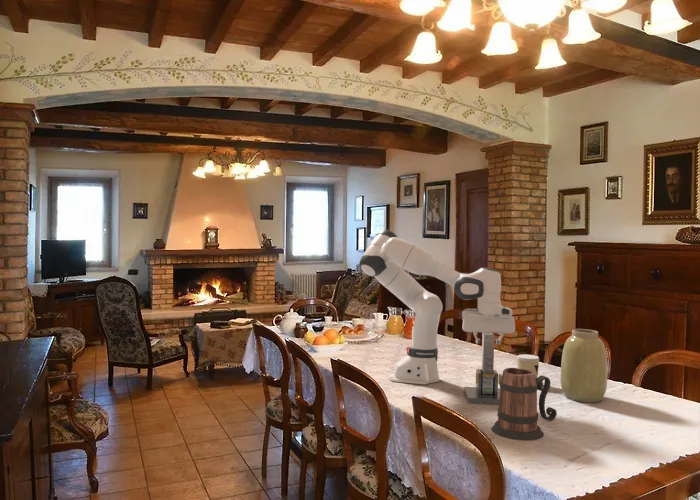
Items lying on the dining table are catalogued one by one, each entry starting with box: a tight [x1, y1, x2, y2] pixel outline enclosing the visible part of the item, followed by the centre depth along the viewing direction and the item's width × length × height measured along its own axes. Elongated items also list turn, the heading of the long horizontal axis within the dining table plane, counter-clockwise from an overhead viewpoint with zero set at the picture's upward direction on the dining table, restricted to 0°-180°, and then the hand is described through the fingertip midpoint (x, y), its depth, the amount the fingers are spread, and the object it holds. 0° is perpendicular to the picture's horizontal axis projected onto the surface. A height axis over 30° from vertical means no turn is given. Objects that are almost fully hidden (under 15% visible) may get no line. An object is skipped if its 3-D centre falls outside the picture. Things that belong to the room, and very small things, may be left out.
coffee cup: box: [516, 353, 540, 379], centre depth 246 cm, size 9×9×12 cm
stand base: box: [463, 368, 503, 406], centre depth 223 cm, size 16×16×11 cm
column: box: [481, 332, 496, 394], centre depth 223 cm, size 4×6×23 cm, turn 175°
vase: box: [560, 328, 608, 403], centre depth 226 cm, size 17×17×27 cm
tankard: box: [490, 367, 558, 442], centre depth 187 cm, size 24×17×20 cm
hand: (488, 343), depth 223 cm, fingers open, 6 cm apart
